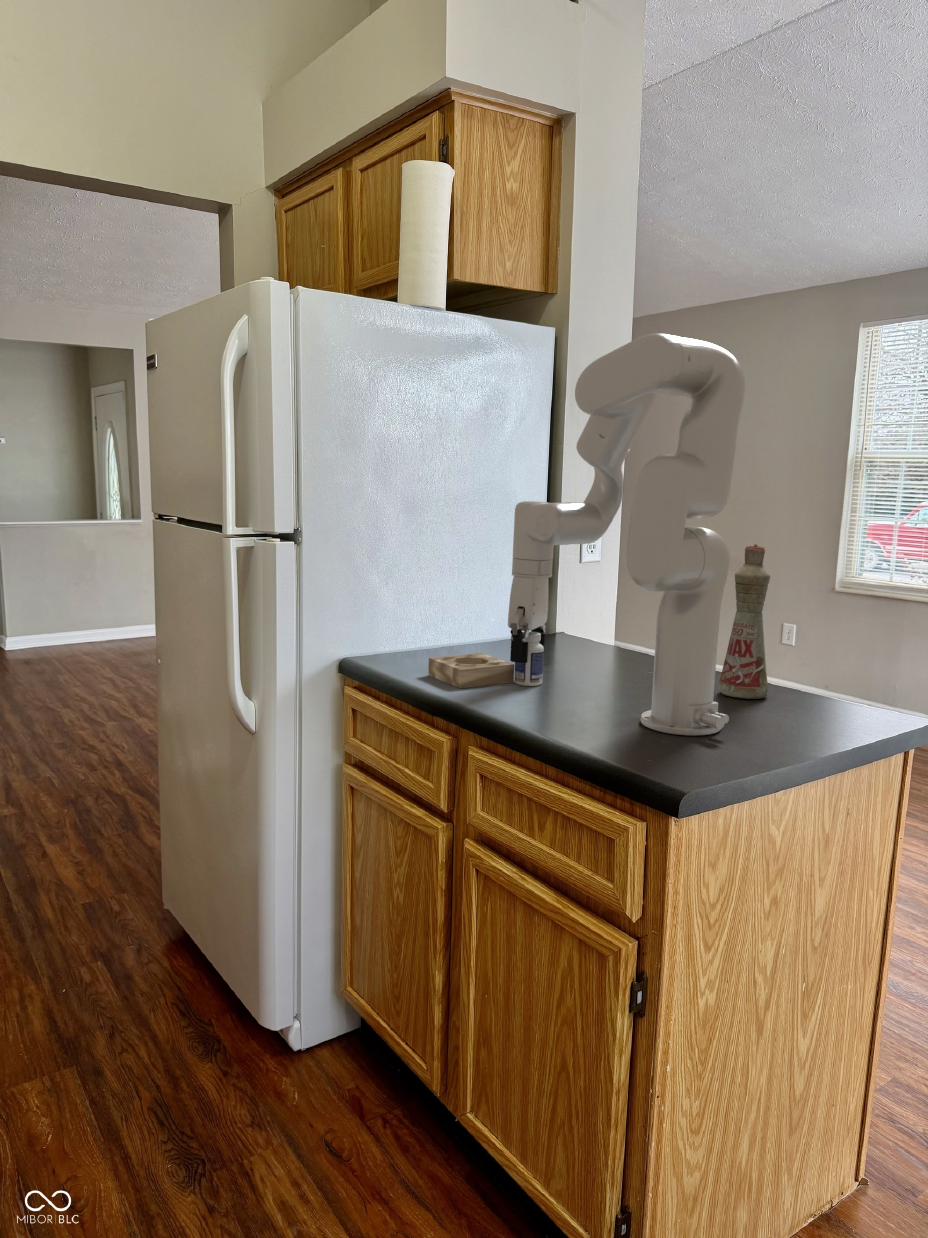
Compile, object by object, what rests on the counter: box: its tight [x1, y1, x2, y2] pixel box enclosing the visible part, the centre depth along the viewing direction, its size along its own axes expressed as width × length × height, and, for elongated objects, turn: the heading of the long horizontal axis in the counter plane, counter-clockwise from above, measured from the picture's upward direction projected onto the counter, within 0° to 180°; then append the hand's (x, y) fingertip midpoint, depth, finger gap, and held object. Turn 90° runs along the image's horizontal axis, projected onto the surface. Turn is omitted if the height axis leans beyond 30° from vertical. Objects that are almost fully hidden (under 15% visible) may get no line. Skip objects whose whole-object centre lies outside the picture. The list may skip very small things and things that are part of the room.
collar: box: [427, 652, 515, 689], centre depth 170 cm, size 12×12×4 cm
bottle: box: [718, 543, 771, 700], centre depth 161 cm, size 9×9×28 cm
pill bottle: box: [514, 631, 545, 687], centre depth 167 cm, size 5×5×10 cm
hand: (527, 657), depth 167 cm, fingers open, 9 cm apart
